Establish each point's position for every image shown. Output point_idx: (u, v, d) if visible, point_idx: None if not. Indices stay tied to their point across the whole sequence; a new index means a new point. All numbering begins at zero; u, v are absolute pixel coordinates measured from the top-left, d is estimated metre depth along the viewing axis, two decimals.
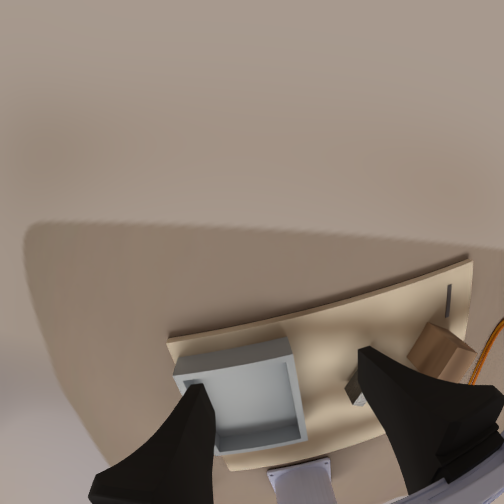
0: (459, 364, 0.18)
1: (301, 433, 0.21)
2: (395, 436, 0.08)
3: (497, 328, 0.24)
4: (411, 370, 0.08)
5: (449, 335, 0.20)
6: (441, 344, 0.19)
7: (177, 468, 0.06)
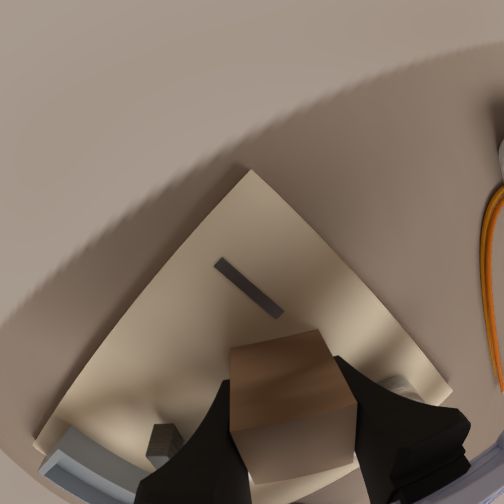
0: (297, 445, 0.08)
1: None
2: (359, 450, 0.08)
3: (485, 227, 0.12)
4: (374, 384, 0.08)
5: (274, 368, 0.10)
6: None
7: (226, 466, 0.06)
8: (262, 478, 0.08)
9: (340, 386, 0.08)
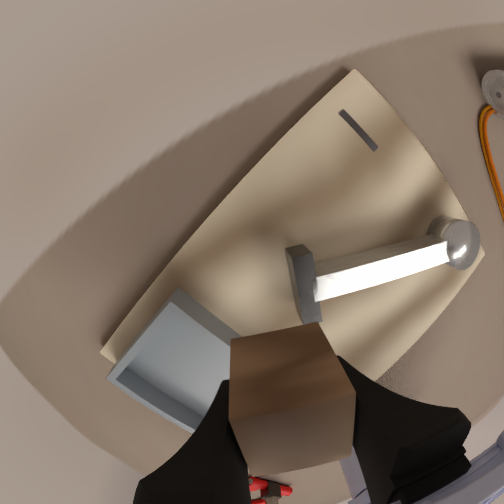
0: (296, 435, 0.08)
1: None
2: (359, 450, 0.08)
3: (480, 127, 0.17)
4: (375, 384, 0.08)
5: (274, 358, 0.10)
6: None
7: (225, 466, 0.06)
8: (260, 470, 0.08)
9: (339, 376, 0.09)
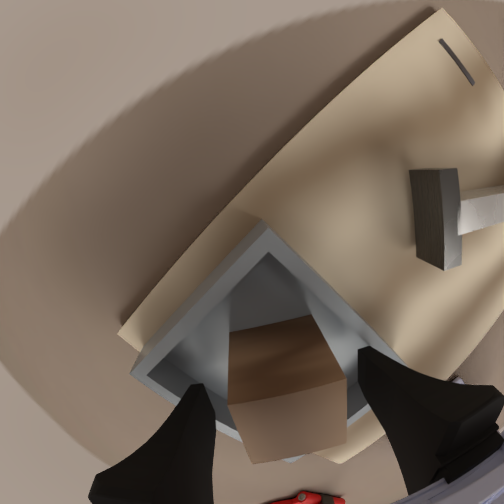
0: (292, 420, 0.09)
1: None
2: (395, 436, 0.08)
3: None
4: (411, 370, 0.08)
5: (270, 349, 0.11)
6: None
7: (177, 468, 0.06)
8: (259, 457, 0.09)
9: (331, 364, 0.09)
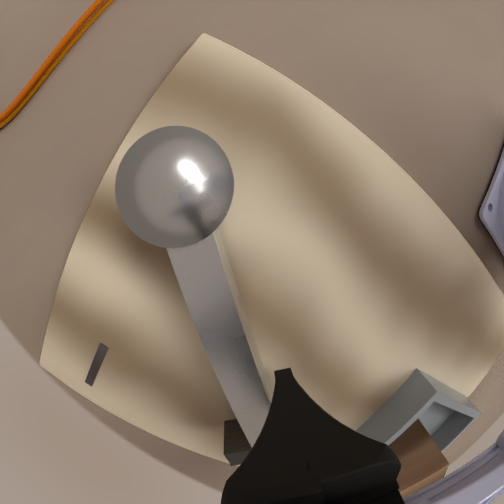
0: None
1: (423, 410, 0.12)
2: None
3: (1, 125, 0.10)
4: (311, 403, 0.08)
5: None
6: None
7: None
8: None
9: None
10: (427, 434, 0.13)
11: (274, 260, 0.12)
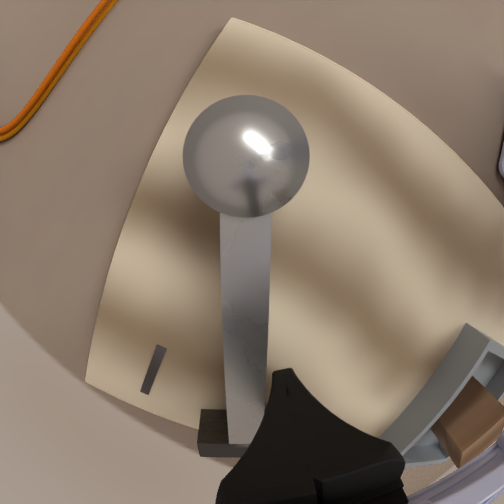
0: (477, 449, 0.10)
1: (480, 361, 0.11)
2: None
3: (15, 130, 0.10)
4: (315, 403, 0.08)
5: (442, 438, 0.13)
6: None
7: None
8: (496, 438, 0.10)
9: (455, 444, 0.11)
10: (482, 387, 0.12)
11: (335, 228, 0.12)
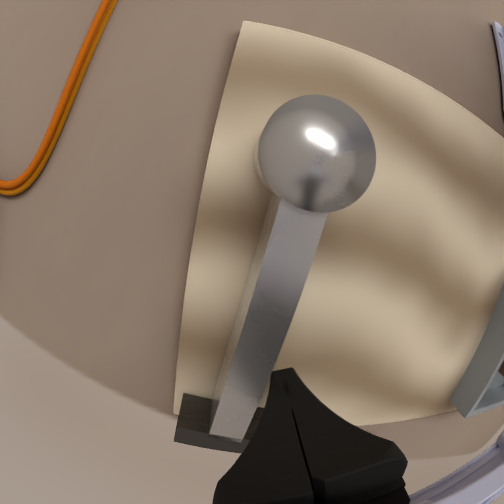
0: None
1: None
2: None
3: (32, 178, 0.11)
4: (317, 402, 0.08)
5: None
6: None
7: None
8: None
9: None
10: None
11: (390, 203, 0.11)
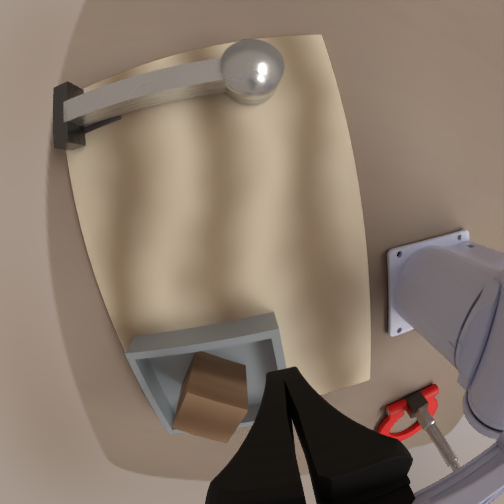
0: (200, 418, 0.16)
1: (259, 339, 0.18)
2: (308, 464, 0.08)
3: None
4: (321, 401, 0.08)
5: (183, 387, 0.18)
6: None
7: None
8: (222, 438, 0.16)
9: (188, 385, 0.16)
10: (245, 379, 0.19)
11: (253, 147, 0.17)
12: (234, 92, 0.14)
